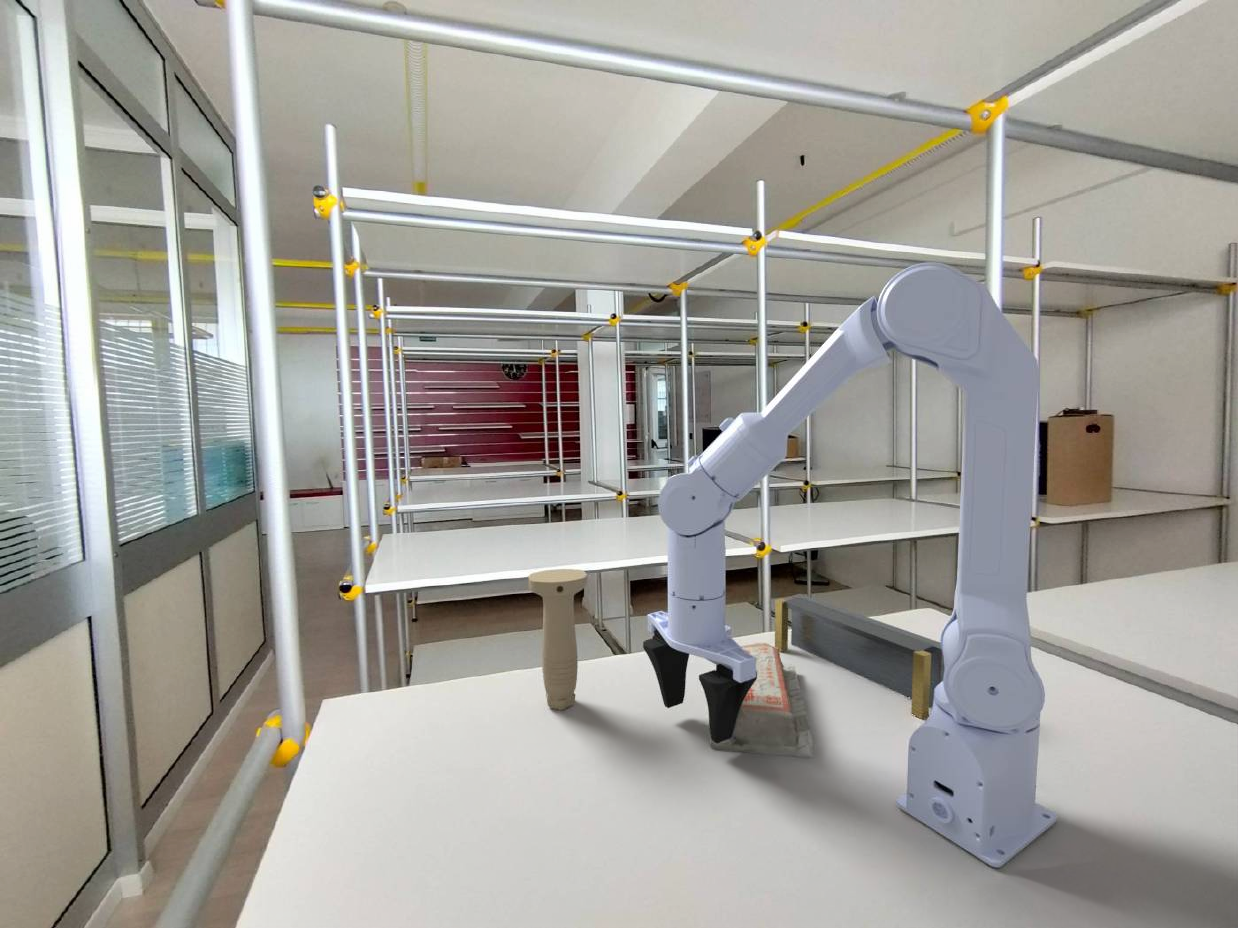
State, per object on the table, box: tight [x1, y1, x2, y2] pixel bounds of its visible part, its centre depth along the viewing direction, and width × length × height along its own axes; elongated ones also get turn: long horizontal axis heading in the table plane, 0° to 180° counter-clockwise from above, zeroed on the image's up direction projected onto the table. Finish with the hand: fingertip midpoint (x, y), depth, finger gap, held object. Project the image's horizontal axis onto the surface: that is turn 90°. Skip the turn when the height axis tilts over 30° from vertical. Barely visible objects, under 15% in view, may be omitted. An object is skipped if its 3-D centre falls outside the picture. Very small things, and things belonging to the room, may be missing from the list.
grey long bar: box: [774, 593, 945, 720], centre depth 70 cm, size 5×21×7 cm, turn 31°
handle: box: [528, 568, 588, 711], centre depth 64 cm, size 5×6×15 cm
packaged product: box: [709, 642, 815, 759], centre depth 64 cm, size 18×5×10 cm
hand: (696, 720), depth 58 cm, fingers open, 7 cm apart
